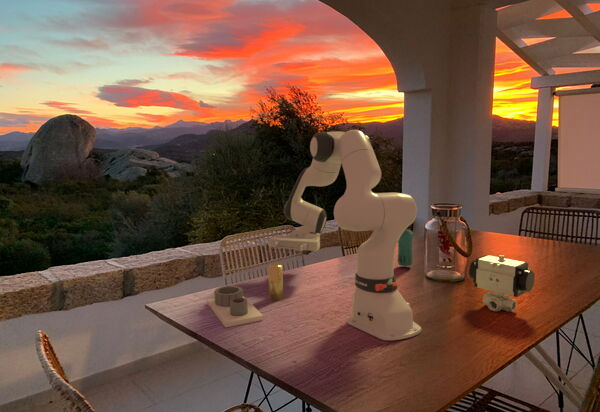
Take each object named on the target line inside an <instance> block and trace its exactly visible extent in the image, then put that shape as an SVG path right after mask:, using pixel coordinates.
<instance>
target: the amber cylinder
mask: <svg viewBox="0 0 600 412" xmlns="http://www.w3.org/2000/svg"><path fill="white" fill-rule="evenodd" d="M283 266H284V265H283V264H282V263H275V262H274V263H270V264H268V299H269V300H270V301H275V302H277V301H282V300H283V299H284V274H283V273H284V270H283V269H284V267H283Z"/></svg>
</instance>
